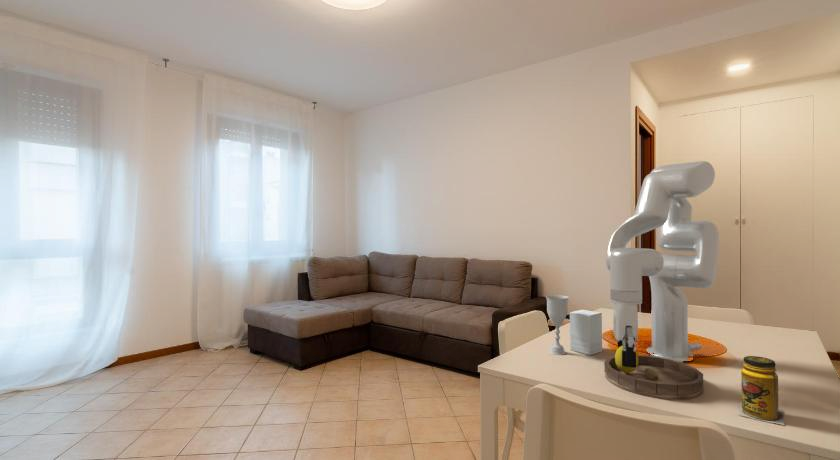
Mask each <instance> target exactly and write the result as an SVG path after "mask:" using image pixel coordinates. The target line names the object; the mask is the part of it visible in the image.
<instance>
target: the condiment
mask: <svg viewBox="0 0 840 460" xmlns="http://www.w3.org/2000/svg"><path fill="white" fill-rule="evenodd" d="M742 365H743V368H742V369H741V373H740V374H741V385H740V386H741V389H740V390H741V401H739V406H738V416H742V417H746V418H749V419H753V420H757V421H762V422H766V423H772V424H776V425H777V424H778V425H782V426H785V419H784V413H783V409H779V407H780V406H779V375H778V374H777V369H776V361H774V360H773V359H771V358H768V357H764V356H756V355H746V356H744V358H743V364H742Z"/></svg>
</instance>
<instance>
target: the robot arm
mask: <svg viewBox="0 0 840 460" xmlns="http://www.w3.org/2000/svg"><path fill="white" fill-rule="evenodd" d="M714 168H715V167H714V166H713V165H712V163H710V162H709V161H705V160H702V161H701V160H699V161H690V162H685V163H684V162H683V163H674V164H667V165H666V164H665V165H660V166H658V167H655V168H653V169H652V170H651V171H650V173H649V174H647V175H646V176H645V177H644V179H643V181H642V184H641V188H640V191H639V195H638V199H637V203H636V206H635V209H634V213H633V214H632V215H631V216H629V218H626V220H625V221H623V222H622V223H621V224H620V226H618V228H616V229H615V230H614V232H613V233H612V235H611V237H610V239H609V242H608V246H607V249H606V253H605V265H606V268H607V269H608V271H610V272H609V275H610V277H609V278H610V279H609V280H610V281H609V282H610V285H609V286H610V292H609V293H610V296H609V297H610V299H609V300H610V302H612V303H613V325H612V326H613V327H612V330H613V332H612V333H613V336H614V338H615V340H616V341H617V349H618V348H619V347H621V346H623V350H622V366H624V367H633V368H635V367H636V353H637V349H636V342H638V337H639V336H638V335H639V332H638V331H639V329H638V328H639V324H638V323H639V319H638V318H639V317H638V312H639V311H638V305H641V304H643V276H644V277H648V278H649V282H650V291H651V292H650V293H651V295H650V296H651V346H649V347H646V351H647V352H648V353H650V354H651V355H652V356H654V357H661V358H666V359H670V360H675V361H680V362H682V363H684V362H683V361H688V359H689V358H687V357H688V356H694V357H695V355H694V353H692V351H698V350H702V344H701V343H699V342H697V343H696V342H695V343H691V342H689V341H688V340H689V339H688V338H689V336H688V335H689V334H688V332H689V329H688V327H689V326H688V325H689V324H688V323H689V322H688V318H689V317H688V315H689V314H688V311H689V310H688V308H689V307H688V306H689V305H688V298H687V296H686V295H685V293H684V292H683V290H682V289H681V288H680V287H684V288H695V289H708V288H711V287H713V285H714V284H715V281H716V277H717V268H718V258H719V248H720V234H719V229H718V227H717V225H716V224H715V223H714V222H712V221H710V220H709V221H708V220H692V213H693V207H692V204H691V203H690V201H689V200H688V199H687V198H695V197H697V196H699V195H701V194H703V193H704V192H705V191H707V190H709V188H711V186H712V185H713V184H714V181H715V177H716V173H715V169H714ZM656 229H658V230H657V237H656V240H657V245H658V247H659V248H660V249H662V250H664V251H670V252H681V253H683V252H685V253H686V252H687V253H696V255H686V254H670V253H669V254H668V253H667V254H664V253H660V252H659V251H658V250H656V249H653V248H641V247H640V248H639V247H626V246H627V245H628V243H629V242H630V241H632V240H633V239H634V238H636V237H638V236H640V235H643V234H646V233H648V232H651V231H653V230H656ZM646 351H645V352H646ZM653 353H654V354H653Z"/></svg>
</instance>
